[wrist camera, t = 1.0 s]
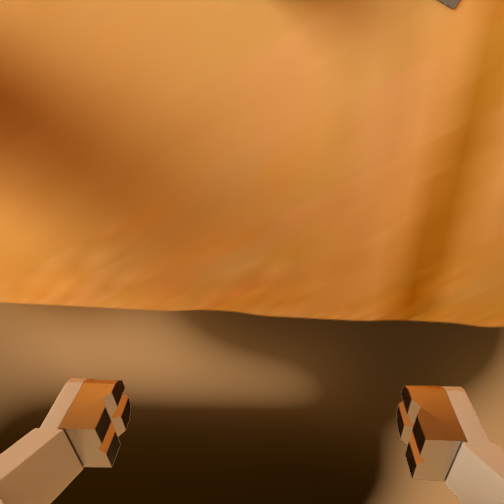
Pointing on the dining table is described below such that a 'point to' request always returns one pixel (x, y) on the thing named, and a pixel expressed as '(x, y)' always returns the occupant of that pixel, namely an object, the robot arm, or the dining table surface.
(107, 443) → the robot arm
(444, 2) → the mat
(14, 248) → the dining table surface
